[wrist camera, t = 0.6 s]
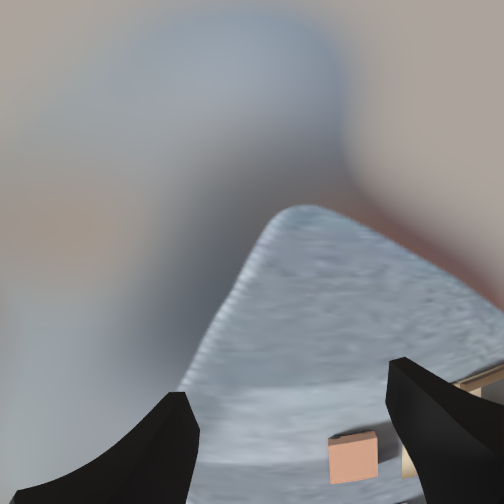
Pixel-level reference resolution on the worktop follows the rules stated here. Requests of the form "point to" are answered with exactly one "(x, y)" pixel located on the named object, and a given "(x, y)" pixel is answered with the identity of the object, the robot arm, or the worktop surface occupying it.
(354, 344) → the worktop surface
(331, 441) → the peach toy brick
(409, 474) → the dock
